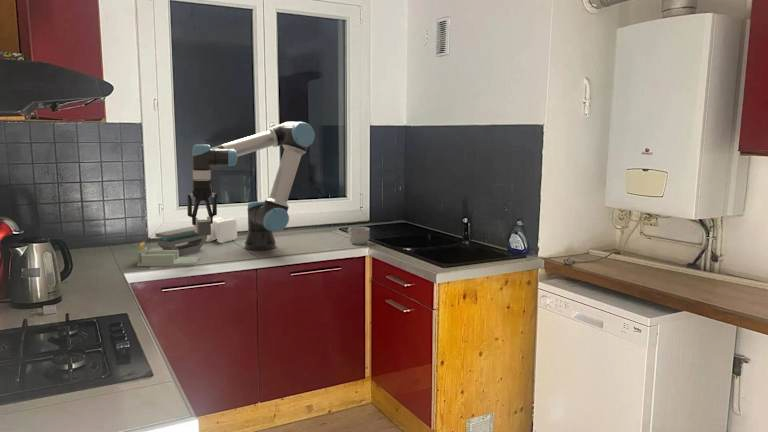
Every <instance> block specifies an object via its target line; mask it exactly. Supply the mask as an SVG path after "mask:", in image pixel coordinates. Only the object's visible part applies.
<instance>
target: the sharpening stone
mask: <svg viewBox="0 0 768 432" xmlns="http://www.w3.org/2000/svg"><path fill="white" fill-rule="evenodd" d="M154 237H155V238H161V239H157V245H158V246H159V247H160V248H161V250H179V257H182V256H186V255H190V254H195V253H199V251H201V249H202V247H203V246H204V244H205V243H206V242H207V241H206V240H207V235H203V236H199V235H197V234H195V232H194V225H192V226H188V227H183V228H178V229H172V230H171V229H170V230H167V231H166V230H165V231H161V232H156V233H155V236H154ZM183 243H185V244H183ZM179 244H181V245H179Z"/></svg>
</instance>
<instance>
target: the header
mask: <svg viewBox="0 0 768 432" xmlns="http://www.w3.org/2000/svg"><path fill="white" fill-rule="evenodd" d="M136 255H137V257H136V258H137V265H136V266H137V267H166V266H167V267H174V266H175V267H177V266H178V267H179V266H180V267H182V266H183V267H185V266H187V267H188V266H190V267H191V266H196V265H197V264H198V262H199V261H200V260H201V257H200V256H183V257H182V256H179V250H163V249H161V250H160V249H158V250H157V249H155V250H154V249H153V250H152V249H151V250H150V249H149V250H148V246H146V245H145V241H142V242H140V243H139V249H138V251H137V254H136Z"/></svg>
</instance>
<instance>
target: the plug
mask: <svg viewBox="0 0 768 432" xmlns="http://www.w3.org/2000/svg"><path fill="white" fill-rule="evenodd" d="M195 234H197V235H199V236H203V235H211V221H208V220H207V218H206V219H198V233H196V232H195Z"/></svg>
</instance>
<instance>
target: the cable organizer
mask: <svg viewBox="0 0 768 432" xmlns="http://www.w3.org/2000/svg"><path fill="white" fill-rule="evenodd" d="M237 238H238V220H237V219H236V218H233V217H232V218H229V219H228V218H227V219H225V218H224V217H215V218H213V223H212V224H211V235H207V240H206V241H205V242H208V243H211V242H213V241H215V240H216V239H217V240H216V242H218V243H219V244H225V243H227V242H233V241H235V240H236V239H237ZM232 240H233V241H232Z"/></svg>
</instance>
